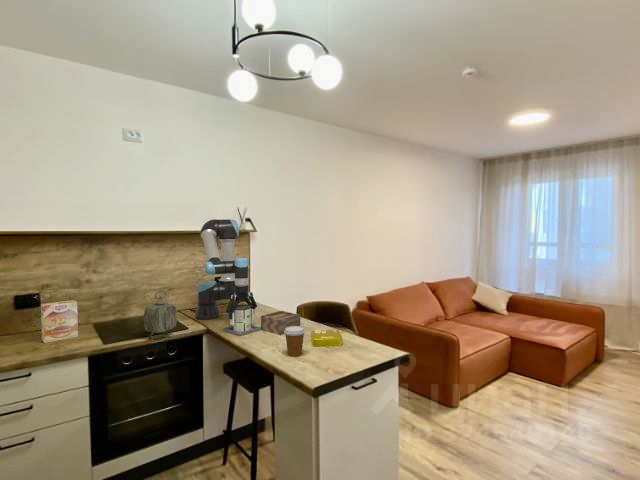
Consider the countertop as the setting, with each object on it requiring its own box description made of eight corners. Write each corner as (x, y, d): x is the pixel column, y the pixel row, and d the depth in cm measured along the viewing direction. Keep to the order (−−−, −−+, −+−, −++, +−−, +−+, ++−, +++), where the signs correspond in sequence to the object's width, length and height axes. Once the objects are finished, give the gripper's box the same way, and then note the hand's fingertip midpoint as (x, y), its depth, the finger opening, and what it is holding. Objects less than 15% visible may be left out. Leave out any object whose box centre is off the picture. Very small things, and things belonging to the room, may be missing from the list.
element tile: (312, 347, 172) (312, 338, 172) (310, 338, 187) (310, 329, 187) (342, 346, 174) (342, 337, 173) (338, 337, 189) (338, 328, 188)
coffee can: (236, 328, 207) (236, 304, 206) (253, 328, 206) (253, 304, 205) (230, 333, 196) (229, 308, 196) (248, 333, 195) (247, 308, 195)
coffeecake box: (44, 343, 181) (43, 305, 180) (41, 340, 186) (40, 303, 185) (78, 336, 192) (77, 301, 191) (75, 334, 197) (74, 299, 196)
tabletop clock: (167, 332, 199) (166, 288, 198) (178, 334, 194) (177, 289, 194) (144, 339, 186) (143, 292, 185) (155, 342, 182) (154, 294, 181)
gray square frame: (223, 331, 200) (223, 328, 200) (244, 325, 212) (244, 323, 212) (239, 336, 190) (239, 333, 190) (260, 330, 202) (260, 327, 202)
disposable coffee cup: (284, 351, 167) (284, 326, 166) (304, 350, 168) (304, 325, 167) (284, 358, 157) (284, 331, 157) (305, 357, 158) (305, 331, 158)
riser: (261, 329, 203) (260, 315, 202) (281, 324, 215) (281, 310, 214) (280, 335, 192) (279, 320, 192) (300, 328, 204) (300, 314, 204)
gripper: (226, 288, 188) (227, 328, 189) (262, 283, 207) (263, 319, 208) (218, 287, 193) (219, 325, 194) (254, 282, 212) (255, 317, 213)
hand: (242, 322), depth 201 cm, fingers open, 13 cm apart
